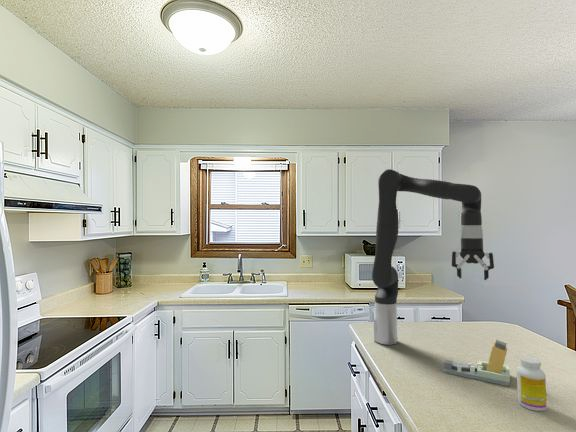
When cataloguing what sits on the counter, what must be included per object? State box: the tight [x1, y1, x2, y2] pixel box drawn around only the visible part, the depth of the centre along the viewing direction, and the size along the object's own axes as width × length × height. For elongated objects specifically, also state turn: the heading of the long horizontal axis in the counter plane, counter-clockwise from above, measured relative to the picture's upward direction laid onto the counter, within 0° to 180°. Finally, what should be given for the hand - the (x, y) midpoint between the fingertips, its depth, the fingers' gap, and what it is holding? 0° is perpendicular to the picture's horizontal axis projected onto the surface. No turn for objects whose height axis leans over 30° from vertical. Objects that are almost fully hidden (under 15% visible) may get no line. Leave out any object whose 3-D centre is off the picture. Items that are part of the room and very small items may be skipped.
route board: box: [443, 359, 511, 387], centre depth 114 cm, size 19×9×3 cm, turn 57°
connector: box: [486, 339, 508, 374], centre depth 111 cm, size 4×4×10 cm
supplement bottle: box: [516, 356, 548, 412], centre depth 94 cm, size 7×7×13 cm
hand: (472, 278), depth 129 cm, fingers open, 8 cm apart
